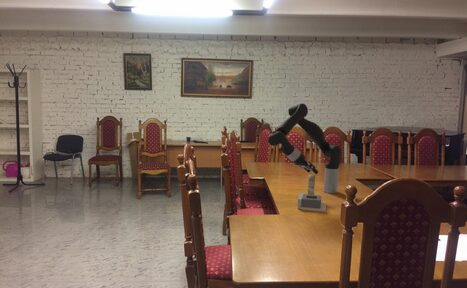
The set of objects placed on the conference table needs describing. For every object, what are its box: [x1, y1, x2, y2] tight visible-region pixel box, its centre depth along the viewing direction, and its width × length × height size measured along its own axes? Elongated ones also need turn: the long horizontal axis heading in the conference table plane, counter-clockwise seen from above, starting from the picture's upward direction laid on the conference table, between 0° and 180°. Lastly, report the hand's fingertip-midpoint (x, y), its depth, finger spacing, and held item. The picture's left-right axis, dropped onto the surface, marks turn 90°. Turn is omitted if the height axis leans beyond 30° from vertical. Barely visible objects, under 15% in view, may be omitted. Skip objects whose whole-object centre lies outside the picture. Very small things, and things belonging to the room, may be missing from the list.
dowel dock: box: [297, 192, 327, 213], centre depth 220 cm, size 14×16×6 cm
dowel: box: [307, 174, 316, 195], centre depth 235 cm, size 4×4×16 cm
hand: (313, 172), depth 222 cm, fingers open, 8 cm apart
